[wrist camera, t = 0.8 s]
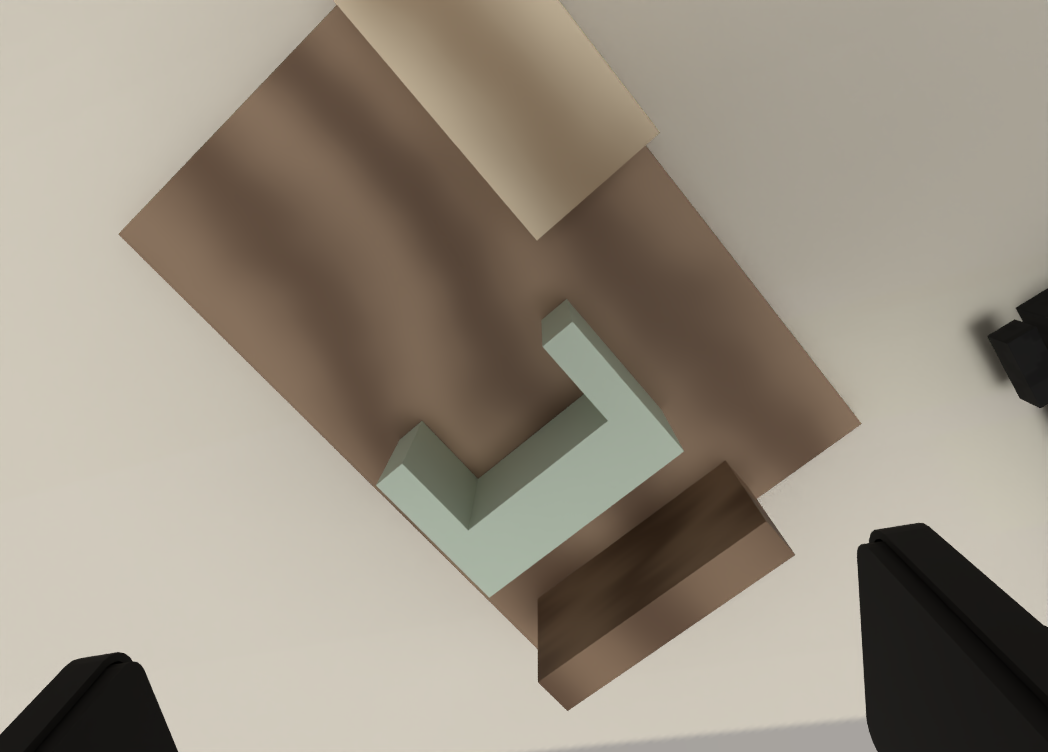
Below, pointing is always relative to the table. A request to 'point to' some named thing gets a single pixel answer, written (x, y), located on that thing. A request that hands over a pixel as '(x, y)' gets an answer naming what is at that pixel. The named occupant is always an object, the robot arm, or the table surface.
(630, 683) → the table surface
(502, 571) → the block
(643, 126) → the beige wooden brick
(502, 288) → the board
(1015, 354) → the toy
